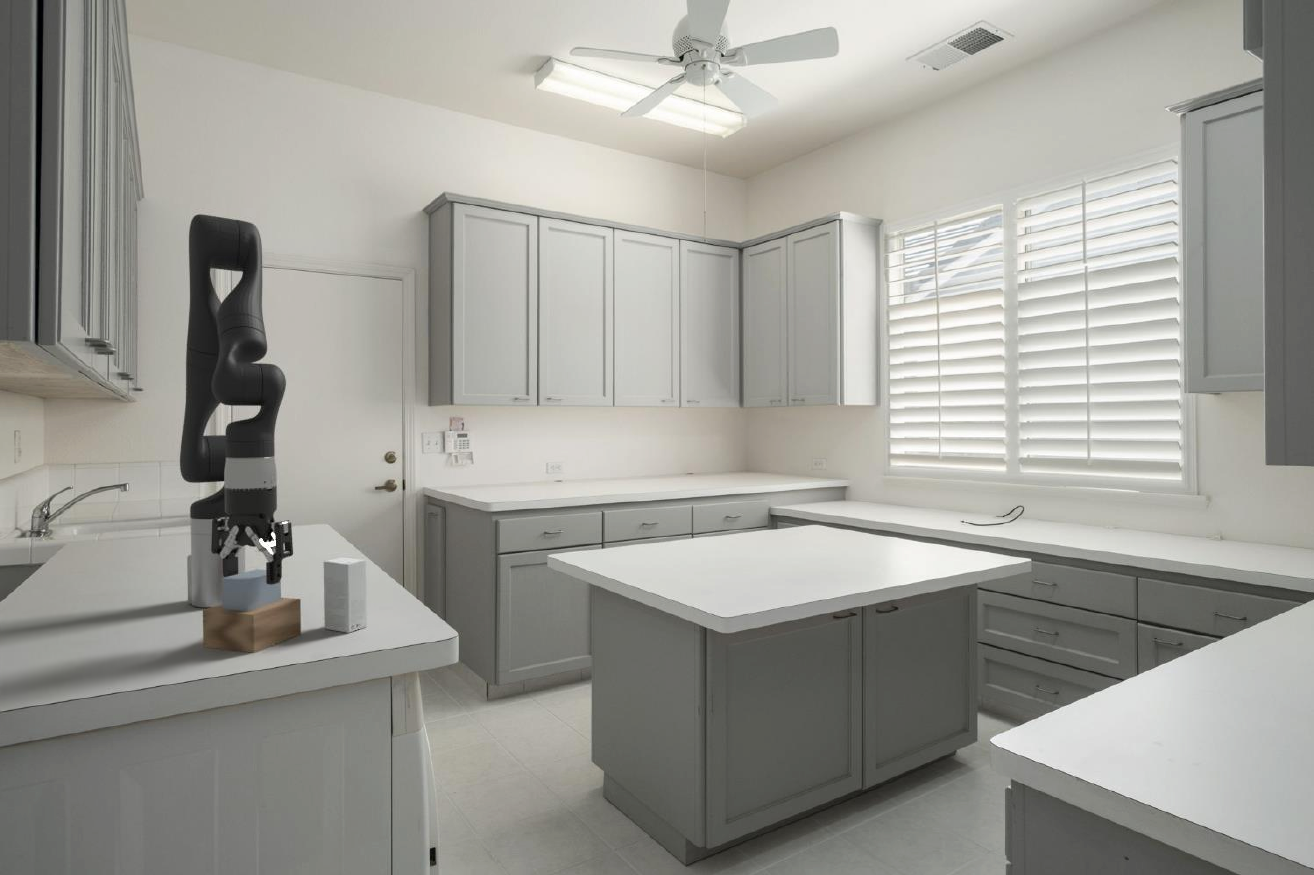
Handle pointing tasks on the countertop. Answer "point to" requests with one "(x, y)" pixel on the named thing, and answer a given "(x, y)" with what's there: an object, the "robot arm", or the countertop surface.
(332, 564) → the skincare box
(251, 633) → the walnut block
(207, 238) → the robot arm
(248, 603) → the slate brick
